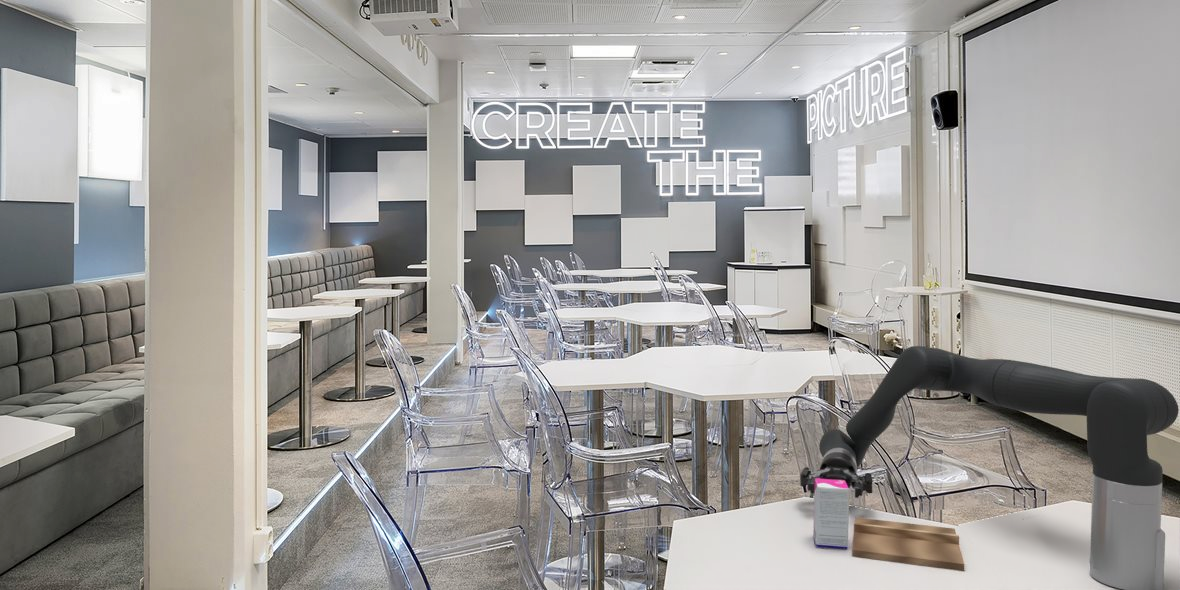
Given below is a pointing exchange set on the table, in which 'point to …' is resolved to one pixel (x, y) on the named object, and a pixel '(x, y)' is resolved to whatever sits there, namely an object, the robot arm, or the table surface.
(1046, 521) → the table surface
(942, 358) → the robot arm
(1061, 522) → the table surface
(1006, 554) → the table surface
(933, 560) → the tan wooden board
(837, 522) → the supplement box
